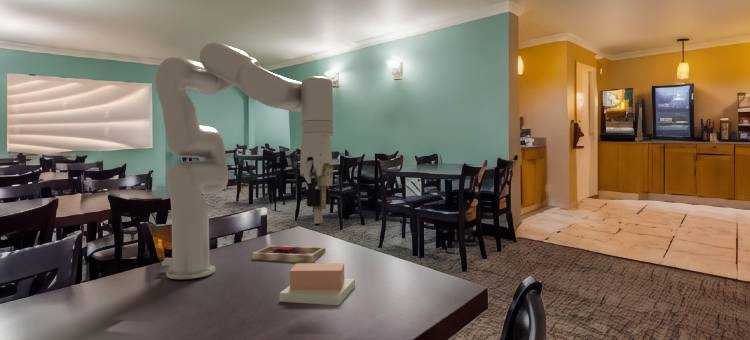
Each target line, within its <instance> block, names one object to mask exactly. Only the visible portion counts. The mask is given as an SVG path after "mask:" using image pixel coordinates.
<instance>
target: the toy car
mask: <svg viewBox="0 0 750 340" xmlns="http://www.w3.org/2000/svg"><path fill="white" fill-rule="evenodd" d="M268 253H282V254H307V255H310V253H308V252H307V253H306V252H303V251H301V250H300V251H298V250H297V249H296V248H294V247H280V248H277V249H276V250H271V251H268Z"/></svg>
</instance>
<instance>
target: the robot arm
mask: <svg viewBox="0 0 750 340" xmlns="http://www.w3.org/2000/svg"><path fill="white" fill-rule="evenodd" d="M155 74H156V75H155V89H156V94H157V97H158V99H159V103H160V106H161V110H162V115H163V123H164V129H165V136H166V143H167V147H168V150H169V152H170V153H171V154H172V155H174V156H175V157H179V158H198V160H197V161H196V160H193V161H189V160H188V161H180V162H177V163H175V164H173V165H172V166H170V168H169V169H168V171H167V174H166V185H167V189H168V193H169V198H170V207H171V208H170V209H171V212H170V213H171V249H172V251H171V257H164V259H163V261H162V262H161V266H162V267H168V270H167V271H166V272H165V273H166V275H165V276H166V277H167V278H169V279H172V280H192V279H197V278H198V279H199V278H203V277H207V276H210V275H212V274H214V273H215V272H216V266H215V265H212V264H210V228H209V227H210V225H209V224H210V223H209V221H210V219H209V207H208V205H207V203H206V202H207V201H206V200H205V198H204V196H203V195H208V194H217V193H220V192H222V191H224V189H226V187H227V185H228V183H229V168H228V163H227V162H228V161H227V154H226V150H225V144H224V139H223V137H222V135H221V133H220V132H219V131H218V130H217V129H216V128H214V127H213V126H208V125H203V124H202V125H201V124H199V121H198V118H197V111H196V110H197V109H196V107H195V104H194V103H193V100H192V99H191V98H190V96H188V94H187V91H189V92H195V93H199V94H205V95H215V94H218V93H221V92H222V91H225V90H227V89H229V88H232V87H233V86H235V87H236V88H239V90H240V91H241V92H242V93H243V94H244V95H246V96H247V97H249V98H252V99H253V100H255V101H257V102H259V103H260V104H263V105H265V106H266V107H267V106H268V107H270V108H274V109H279V110H285V111H289V112H296V113H297V112H298V113H299V112H300V113H301V114H300V115H301V117H300V118H301V119H300V120H301V136H302V137H301V144H300V161H299V162H300V164H299V165H300V168H299V169H300V170H299V172H300V173H299V174H300V176H301V177H303V178H304V179H305V183H306V184H305V188H306V206H307V207H308V208H309V207H312V208H313V207H319V206H321V190H320V189H319V182H320V177H321V176H322V175H323V170H324V165H325V163H326V164H327V163H329V164H331V165H332V166H333V154H332V153H333V152H332V151H333V150H332V141H331V140H332V138H331V137H333V136H334V103H333V102H334V101H333V99H334V98H333V97H334V96H333V95H334V94H333V90H334V88H333V82H332V80H331V79H330V78H328V77H326V76H316V75H315V76H308V77H304V78H302V80H301V81H298V80H293V79H291V78H287V77H285V76H282V75H278V74H276V73H273V72H271V71H269V70H267V69H264V68H263V67H262V65H261V64H260V62H259V61H258V60H257V59H256V58H254V57H251V56H249V54H247V53H246V52H245V51H244V50H240V49H238V48H235V47H233V46H230V45H227V44H224V43H221V42H210V43H207V44H206V45H203V47H202V49H201V50H200V52H199V61H196V60H192V59H189V58H185V57H179V56H174V57H173V56H172V57H168V58H166V59H164V60H163V61H162V62H161V63H159V65H158V67H157V71H156V73H155ZM312 173H315V174H317V176H312ZM314 179H316V183H315V180H314ZM329 204H330V186H326V205H329Z"/></svg>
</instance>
